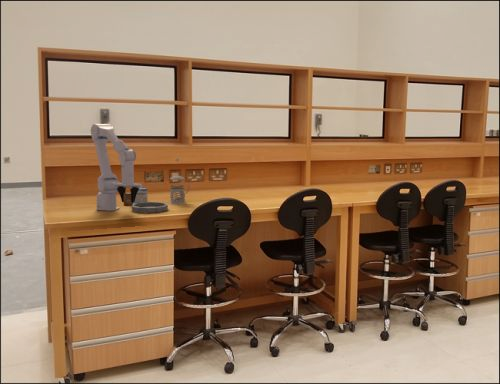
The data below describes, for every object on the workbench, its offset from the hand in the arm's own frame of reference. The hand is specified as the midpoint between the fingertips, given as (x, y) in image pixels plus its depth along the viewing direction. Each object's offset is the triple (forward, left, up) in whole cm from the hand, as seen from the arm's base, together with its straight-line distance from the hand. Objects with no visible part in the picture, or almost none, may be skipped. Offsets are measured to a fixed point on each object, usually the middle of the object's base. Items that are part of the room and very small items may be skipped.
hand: (128, 202), depth 240 cm
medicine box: (-7, +28, -6) cm, 29 cm away
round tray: (+5, +14, -6) cm, 16 cm away
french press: (+12, +39, -6) cm, 41 cm away
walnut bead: (0, 0, -2) cm, 2 cm away
